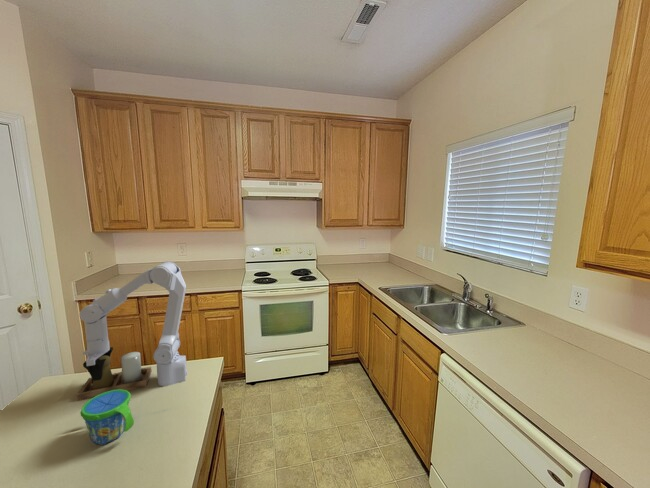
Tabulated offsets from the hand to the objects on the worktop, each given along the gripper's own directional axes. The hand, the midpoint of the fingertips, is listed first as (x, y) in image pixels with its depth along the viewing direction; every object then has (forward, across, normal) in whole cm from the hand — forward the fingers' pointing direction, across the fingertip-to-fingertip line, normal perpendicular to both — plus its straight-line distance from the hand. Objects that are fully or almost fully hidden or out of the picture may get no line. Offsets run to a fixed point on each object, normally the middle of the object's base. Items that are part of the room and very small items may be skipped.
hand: (100, 374), depth 94 cm
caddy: (+6, 0, +4) cm, 7 cm away
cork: (+5, 0, 0) cm, 5 cm away
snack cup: (+6, +24, +9) cm, 27 cm away
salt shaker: (+5, 0, +9) cm, 10 cm away
